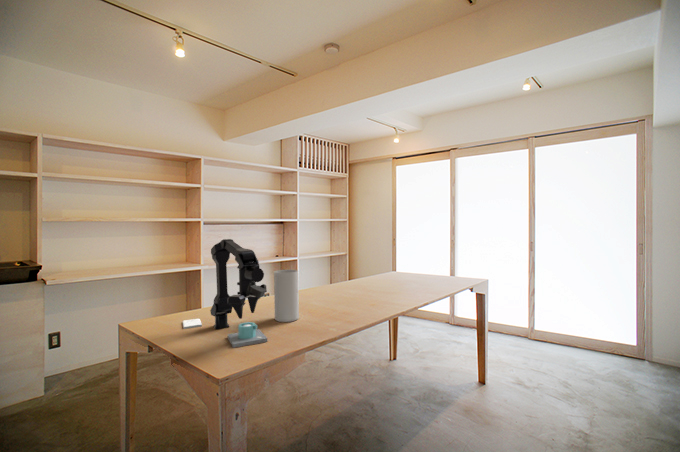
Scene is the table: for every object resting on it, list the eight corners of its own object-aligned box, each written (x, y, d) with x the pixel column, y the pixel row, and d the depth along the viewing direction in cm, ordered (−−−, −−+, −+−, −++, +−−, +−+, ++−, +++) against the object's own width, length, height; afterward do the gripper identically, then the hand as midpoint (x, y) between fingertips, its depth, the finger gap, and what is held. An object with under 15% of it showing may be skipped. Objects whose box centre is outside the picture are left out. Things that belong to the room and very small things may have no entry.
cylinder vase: (294, 323, 167) (293, 273, 167) (270, 322, 169) (270, 272, 169) (302, 316, 179) (301, 269, 179) (280, 315, 182) (279, 269, 181)
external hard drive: (183, 330, 160) (182, 323, 171) (202, 327, 164) (199, 321, 175) (183, 326, 160) (182, 320, 171) (202, 324, 164) (199, 318, 175)
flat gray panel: (227, 337, 147) (227, 324, 147) (259, 332, 153) (259, 319, 153) (233, 347, 135) (232, 333, 134) (267, 341, 141) (267, 327, 141)
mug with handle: (235, 338, 142) (235, 326, 142) (244, 332, 148) (244, 321, 148) (252, 339, 139) (251, 327, 139) (261, 334, 146) (260, 323, 146)
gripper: (250, 284, 132) (251, 323, 132) (273, 276, 150) (274, 311, 150) (226, 283, 136) (227, 321, 136) (251, 275, 153) (252, 309, 154)
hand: (246, 315), depth 144 cm, fingers open, 9 cm apart
